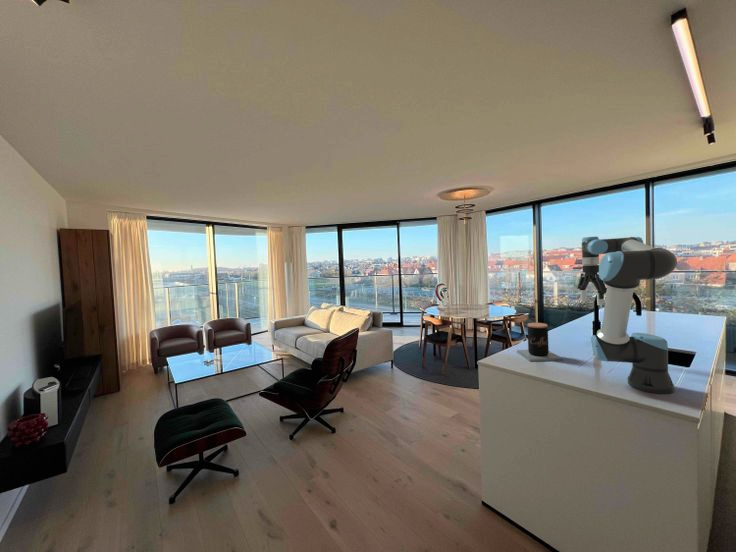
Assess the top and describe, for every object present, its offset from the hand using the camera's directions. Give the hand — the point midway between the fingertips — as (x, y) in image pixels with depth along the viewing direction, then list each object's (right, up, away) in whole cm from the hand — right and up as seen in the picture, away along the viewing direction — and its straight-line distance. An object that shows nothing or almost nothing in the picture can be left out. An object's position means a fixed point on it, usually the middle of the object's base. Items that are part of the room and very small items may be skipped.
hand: (591, 303), depth 167 cm
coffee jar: (-21, -32, +15) cm, 41 cm away
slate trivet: (-21, -33, +15) cm, 42 cm away
